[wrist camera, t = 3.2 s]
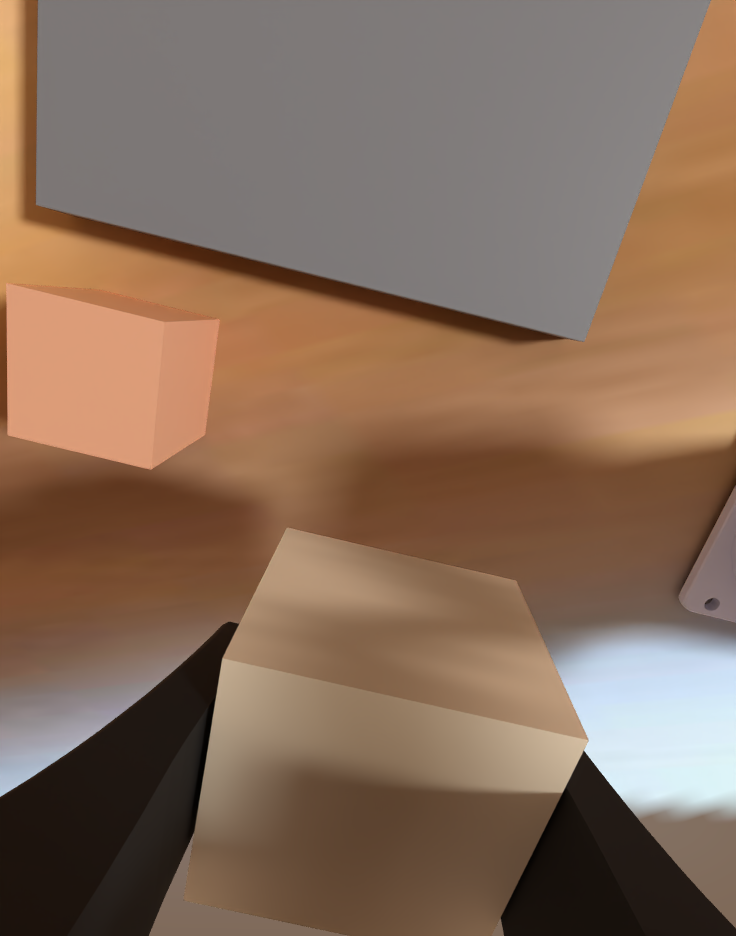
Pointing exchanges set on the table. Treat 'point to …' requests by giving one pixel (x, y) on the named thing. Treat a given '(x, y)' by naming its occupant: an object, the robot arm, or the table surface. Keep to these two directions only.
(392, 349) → the table surface
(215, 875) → the birch block
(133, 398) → the terracotta cube
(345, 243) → the base board
